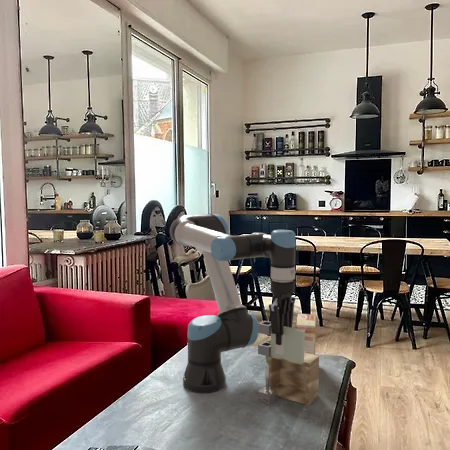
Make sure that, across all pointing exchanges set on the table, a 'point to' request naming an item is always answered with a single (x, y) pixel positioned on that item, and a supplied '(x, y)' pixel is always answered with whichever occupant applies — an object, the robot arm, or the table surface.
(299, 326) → the coffeecake box
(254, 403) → the table surface
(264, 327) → the square frame paddle
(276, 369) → the cabinet
